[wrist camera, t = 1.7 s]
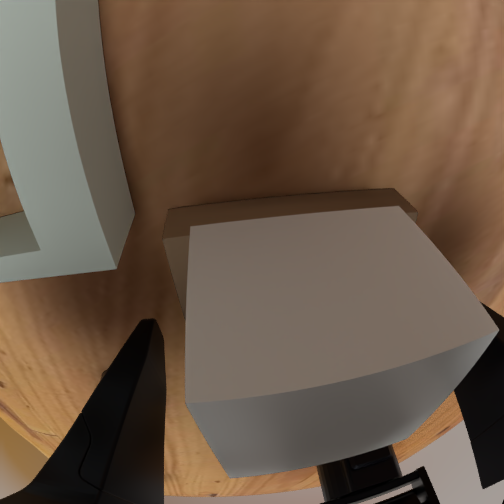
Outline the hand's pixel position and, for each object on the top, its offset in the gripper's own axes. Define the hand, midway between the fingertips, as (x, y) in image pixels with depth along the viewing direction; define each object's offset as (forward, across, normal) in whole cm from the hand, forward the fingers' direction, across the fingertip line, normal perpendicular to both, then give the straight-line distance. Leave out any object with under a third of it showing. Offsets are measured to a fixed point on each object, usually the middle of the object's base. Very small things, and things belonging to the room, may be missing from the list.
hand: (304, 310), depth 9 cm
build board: (+2, +8, -8) cm, 11 cm away
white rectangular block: (+1, 0, 0) cm, 1 cm away
